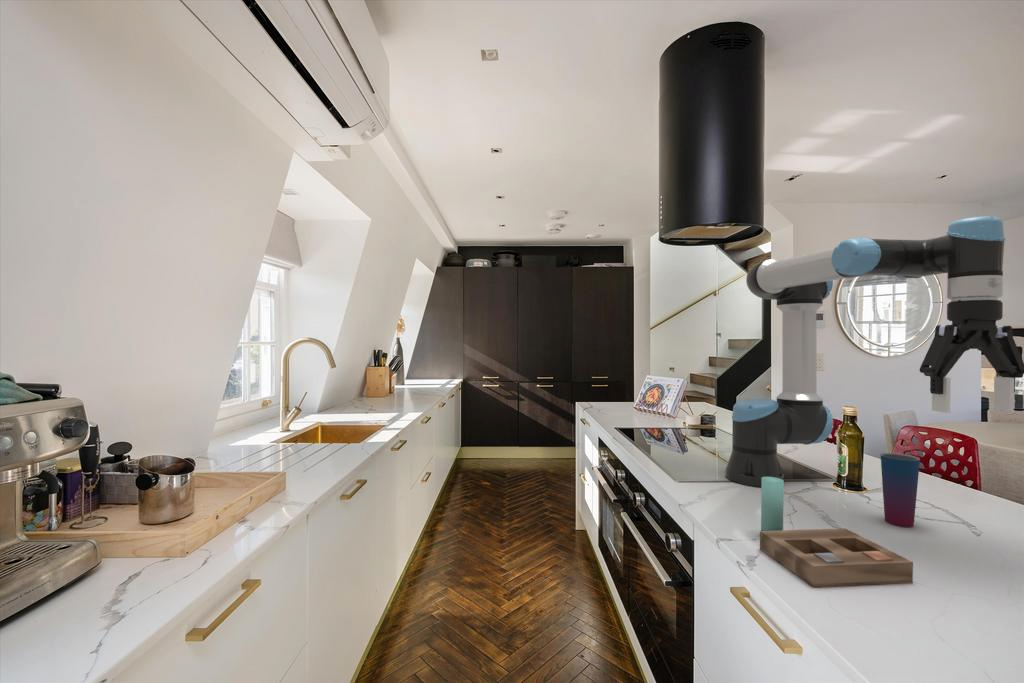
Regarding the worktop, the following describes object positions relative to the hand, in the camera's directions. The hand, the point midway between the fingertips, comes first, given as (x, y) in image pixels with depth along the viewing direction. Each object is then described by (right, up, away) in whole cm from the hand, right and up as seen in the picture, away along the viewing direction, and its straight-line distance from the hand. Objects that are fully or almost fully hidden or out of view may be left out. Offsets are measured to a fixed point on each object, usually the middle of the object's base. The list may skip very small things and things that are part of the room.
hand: (972, 411), depth 88 cm
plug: (-34, -27, +7) cm, 44 cm away
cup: (-1, -28, +16) cm, 32 cm away
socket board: (-30, -27, -4) cm, 41 cm away
